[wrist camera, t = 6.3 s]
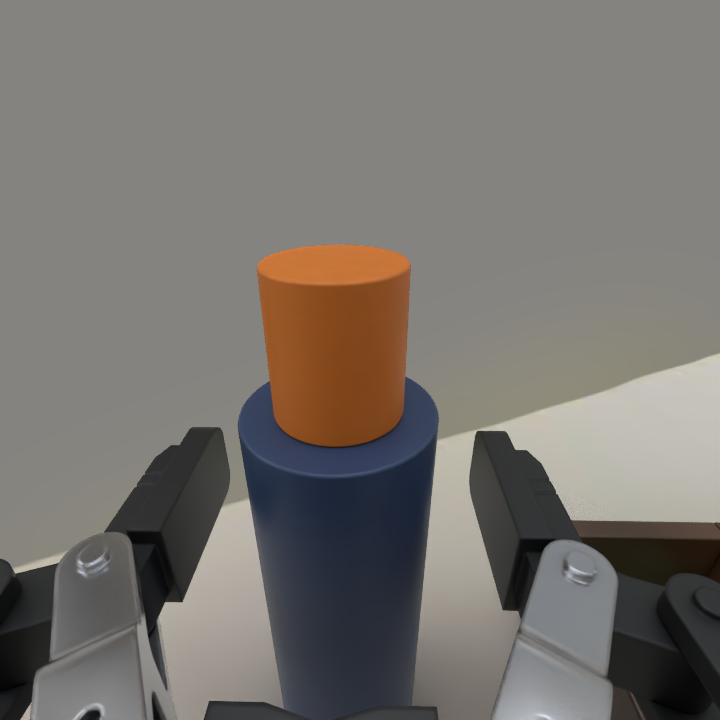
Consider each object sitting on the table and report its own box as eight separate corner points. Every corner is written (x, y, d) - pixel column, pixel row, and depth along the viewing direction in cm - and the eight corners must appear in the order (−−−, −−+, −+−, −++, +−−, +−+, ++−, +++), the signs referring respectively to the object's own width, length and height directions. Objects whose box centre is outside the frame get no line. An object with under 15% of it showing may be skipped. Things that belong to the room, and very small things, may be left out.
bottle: (405, 649, 16) (436, 236, 9) (414, 796, 12) (478, 299, 5) (298, 646, 16) (248, 236, 9) (276, 792, 12) (169, 298, 6)
